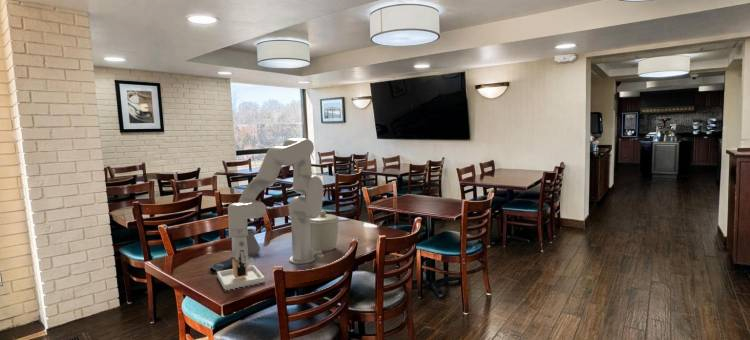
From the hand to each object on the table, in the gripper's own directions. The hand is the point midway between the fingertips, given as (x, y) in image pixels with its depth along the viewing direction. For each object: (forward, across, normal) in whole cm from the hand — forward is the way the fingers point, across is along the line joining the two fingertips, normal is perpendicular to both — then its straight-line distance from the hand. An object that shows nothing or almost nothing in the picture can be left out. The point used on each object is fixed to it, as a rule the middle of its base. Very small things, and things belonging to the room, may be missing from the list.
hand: (240, 273), depth 173 cm
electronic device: (+4, +20, +3) cm, 20 cm away
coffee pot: (+3, +36, -16) cm, 40 cm away
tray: (+3, 0, 0) cm, 3 cm away
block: (+1, 0, 0) cm, 1 cm away
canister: (+3, +22, -48) cm, 53 cm away
